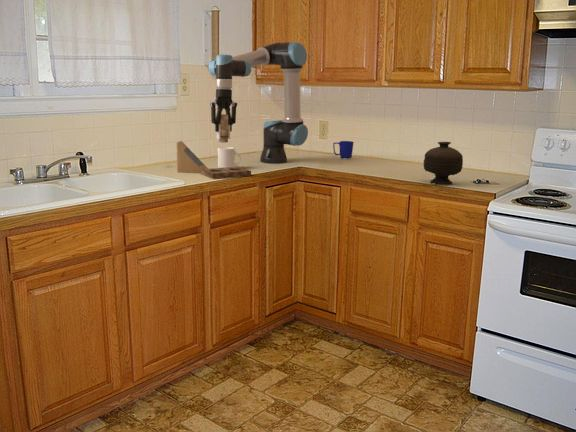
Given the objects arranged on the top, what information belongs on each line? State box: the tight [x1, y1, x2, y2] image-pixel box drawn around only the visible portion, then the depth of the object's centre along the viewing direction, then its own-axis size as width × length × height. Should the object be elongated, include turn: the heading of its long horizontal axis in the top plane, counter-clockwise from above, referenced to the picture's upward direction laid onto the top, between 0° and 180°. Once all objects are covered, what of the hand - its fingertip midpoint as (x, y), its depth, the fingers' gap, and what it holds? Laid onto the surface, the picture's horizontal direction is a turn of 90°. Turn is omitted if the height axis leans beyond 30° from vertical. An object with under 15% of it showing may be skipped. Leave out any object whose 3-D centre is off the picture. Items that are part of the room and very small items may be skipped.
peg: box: [218, 113, 229, 143], centre depth 273 cm, size 4×4×13 cm
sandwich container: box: [176, 140, 209, 174], centre depth 285 cm, size 9×15×15 cm, turn 84°
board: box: [200, 166, 252, 180], centre depth 278 cm, size 20×14×2 cm
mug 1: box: [217, 146, 242, 168], centre depth 297 cm, size 9×12×11 cm
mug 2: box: [332, 140, 354, 159], centre depth 345 cm, size 8×12×10 cm
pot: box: [423, 141, 464, 185], centre depth 268 cm, size 18×18×20 cm
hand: (223, 138), depth 275 cm, fingers closed on peg, 4 cm apart
